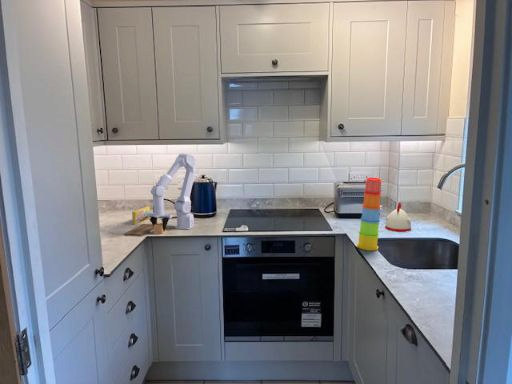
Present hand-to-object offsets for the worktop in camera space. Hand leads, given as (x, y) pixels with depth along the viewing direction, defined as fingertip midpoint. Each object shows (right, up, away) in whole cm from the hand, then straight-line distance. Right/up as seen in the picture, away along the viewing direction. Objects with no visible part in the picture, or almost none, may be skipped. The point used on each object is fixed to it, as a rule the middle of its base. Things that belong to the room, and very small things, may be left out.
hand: (160, 229), depth 214 cm
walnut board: (-11, -1, +4) cm, 12 cm away
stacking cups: (+110, -6, -29) cm, 114 cm away
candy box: (-18, +3, +25) cm, 31 cm away
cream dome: (+137, 0, +3) cm, 137 cm away
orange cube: (0, -1, 0) cm, 1 cm away
